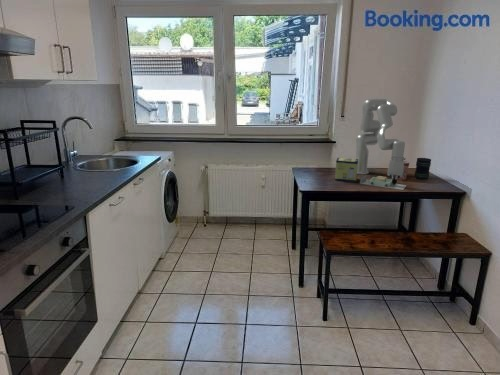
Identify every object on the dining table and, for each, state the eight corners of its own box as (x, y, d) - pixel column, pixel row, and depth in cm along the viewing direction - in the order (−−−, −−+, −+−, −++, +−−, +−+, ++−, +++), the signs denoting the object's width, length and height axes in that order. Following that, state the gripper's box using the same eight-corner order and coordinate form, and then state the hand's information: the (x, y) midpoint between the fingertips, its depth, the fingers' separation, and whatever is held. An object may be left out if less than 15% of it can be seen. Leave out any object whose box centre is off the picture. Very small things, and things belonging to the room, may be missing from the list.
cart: (368, 184, 243) (369, 180, 242) (373, 180, 252) (373, 176, 251) (389, 187, 235) (389, 183, 234) (392, 183, 244) (393, 179, 243)
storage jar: (430, 180, 253) (433, 160, 249) (416, 179, 255) (418, 160, 251) (426, 176, 263) (429, 157, 258) (412, 176, 264) (415, 157, 260)
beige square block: (377, 181, 247) (378, 176, 246) (386, 182, 244) (386, 177, 243) (375, 183, 243) (375, 177, 241) (384, 184, 239) (384, 179, 238)
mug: (403, 177, 261) (406, 160, 257) (409, 180, 253) (411, 162, 249) (387, 177, 261) (389, 160, 257) (392, 180, 252) (395, 163, 248)
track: (359, 183, 246) (360, 178, 245) (364, 179, 256) (365, 174, 255) (403, 190, 230) (403, 184, 229) (406, 185, 240) (407, 180, 239)
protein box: (336, 177, 264) (337, 157, 259) (356, 178, 259) (358, 158, 254) (334, 180, 254) (335, 160, 250) (356, 182, 249) (358, 161, 245)
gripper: (409, 159, 232) (406, 184, 237) (387, 156, 240) (384, 181, 245) (407, 161, 226) (404, 187, 231) (384, 158, 234) (381, 184, 239)
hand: (394, 184), depth 238 cm, fingers closed
